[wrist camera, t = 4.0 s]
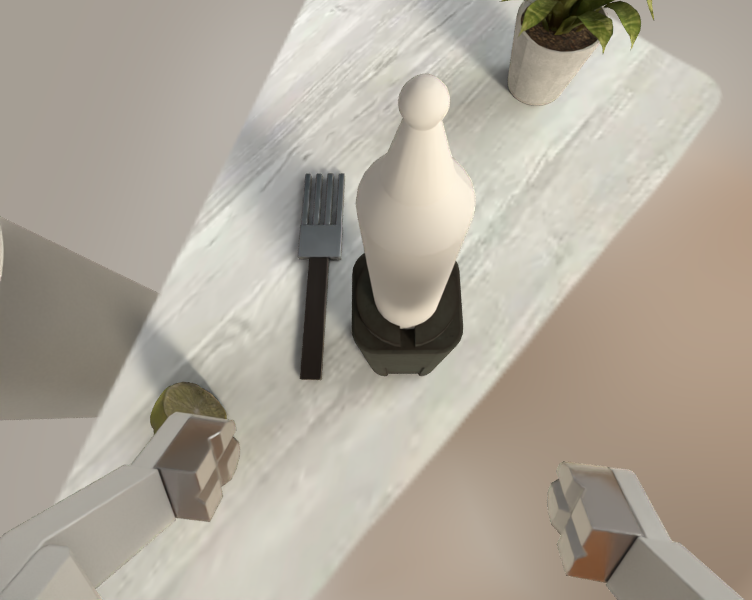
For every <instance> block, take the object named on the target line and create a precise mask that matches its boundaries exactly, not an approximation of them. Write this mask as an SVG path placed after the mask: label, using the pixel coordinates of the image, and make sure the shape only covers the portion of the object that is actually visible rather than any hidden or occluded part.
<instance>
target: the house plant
mask: <svg viewBox="0 0 752 600" xmlns="http://www.w3.org/2000/svg"><path fill="white" fill-rule="evenodd" d="M503 1H508V0H502V1H499V2H503ZM612 1H614V0H524V1H523V3H522V4H521V5H520V7H519V10H518V13H517V17H516V24H515V31H514V38H513V45H512V52H511V59H510V66H509V73H508V88H509V90H510V92H511V94H512V95H513V96H514V97H515V98H516V99H518V100H519V101H521V102H523V103H525V104H529V105H545V104H548V103H550V102H552V101H554V100H555V99H557V98H558V97H559V96H560V94H561V93H562V92H563V90H564V89H565V88H566V87H567V85H568V84H569V83H570V81H571V80H572V79H573V77H574V76H575V75H576V74H577V72H578V71H579V70H580V68H581V67H582V66H583V64H584V63H585V62H586V61H587V59H588V58H589V57H590V55H591V54H592V53H593V51H594V50H595V49H596V48H597V46H598V45H599V44H601V45H602V48H603V53H604V50H605V47H606V45H607V43H608V41H609V40H610V38H611V36H612V34H613V24H612V20H611V19H610V18H608V13H607V12H606V10H605V8H607V7H608V8H611V9H613V10H614V11H615V12H616V14H617V15H618V17H619V19H620V21H621V23H622V24H623V26H624V28H625V30H626V31H627V33H628V34H629V36H630V39H631V43H632V46H631V49H632V47H633V44H634V42H635V40H636V38H637V36H638V34H639V32H640V27H641V19H640V15H639V13H638V12H637V10H635V9H634V8H633V7H632V6H631V5H629V4H628V3H626V2H622V1H617V2H612ZM610 2H612V3H610ZM647 3H648V6H649V10H650V12H651V15H652V18H653V20H654V16H653V9H652V0H647ZM604 5H605V6H604Z"/></svg>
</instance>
